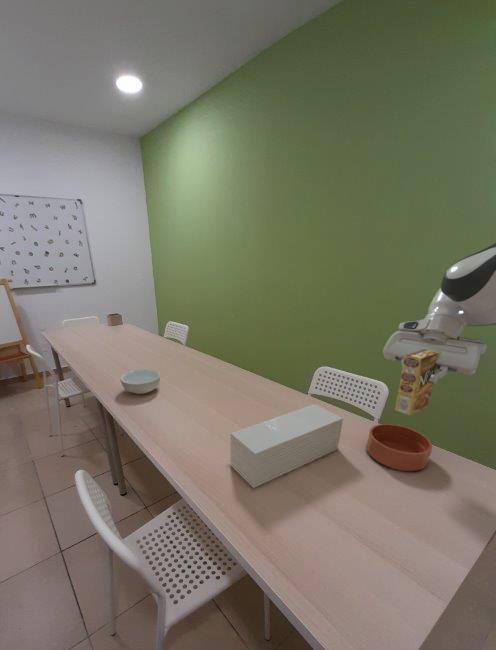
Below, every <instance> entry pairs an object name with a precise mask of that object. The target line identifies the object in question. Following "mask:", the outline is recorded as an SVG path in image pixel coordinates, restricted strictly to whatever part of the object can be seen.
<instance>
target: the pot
mask: <svg viewBox="0 0 496 650" xmlns="http://www.w3.org/2000/svg"><path fill="white" fill-rule="evenodd" d="M365 449H366V451H367V453H368V455H369V456H371V458H372V459H373V460H375V461H376V462H377V463H379V464H381V465H382V466H385V467H388V468H390V469H393V470H397V471H403V472H415V471H421V470H423V469H424V468H426V466H427V464H428V462H429V459H430V457H431V453H432V449H433V444H432V441H431V440H430V439H429V438H428V437H427V436H426V435H424V434H423V433H422V432H419V431H417V430H415V429H413V428H410V427H407V426H404V425H399V424H393V423H379V424H376V425H373V426H372V427H371V428H370V429H369V432H368V437H367V441H366V447H365Z"/></svg>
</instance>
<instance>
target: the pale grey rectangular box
mask: <svg viewBox="0 0 496 650" xmlns="http://www.w3.org/2000/svg"><path fill="white" fill-rule="evenodd" d="M343 421H344V418H343V417H342V416H339V415H337V414H335V413H333V412H331V411H330V410H327V409H325V408H324V407H321V406H319V405H317V404H315V403H313V404H310V405H308V406H305V407H302V408H299V409H296V410H293V411H290V412H288V413H284V414H282V415H279V416H276V417H272V418H270V419H268V420H265V421H261V422H259V423H256V424H252V425H250V426H247V427H244V428H242V429H239V430H236V431H233V432H230V449H229V450H230V453H229V454H230V457H229V458H230V460H229V461H230V462H229V463H230V466H231V468H232V469H234V470H235V471H236V472H237V474H239V476H241V477H242V479H244V480H245V481H246V483H248V484H249V485H250V486H251V487H252V489H255V488H257V487H260V486H261V485H264V484H266V483H267V482H270V481H272V480H274V479H277V478H278V477H280V476H282V475H285V474H287V473H289V472H292V471H294V470H296V469H298V468H300V467H302V466H304V465H306V464H309V463H311V462H313V461H315V460H317V459H319V458H322V457H324V456H326V455H328V454H330V453H332V452H334V451H337V450H339V445H340V439H341V434H342V433H341V432H342V429H343Z"/></svg>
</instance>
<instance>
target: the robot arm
mask: <svg viewBox="0 0 496 650" xmlns="http://www.w3.org/2000/svg"><path fill="white" fill-rule="evenodd" d="M495 325H496V242H494V243H493V244H491V245H489V246H488V247H486V248H484V249H482V250H479V251H477V252H475V253H472V254H470V255H468V256H465V257H464V258H462V259H459V260H458V261H456V262H455V263H453V264H452V265H450V266H449V267H448V269H446V271H445V272H444V275H443V277H442V279H441V283H440V288H439V289H438V290H437V291H436V293H435V295H434V296H433V298H432V299H431V302H430V304H429V306H428V308H427V315H426V316H425V317H424V318H423V319H419V320H412V321H403V322H401V323H400V324H399V325H398V328H397V329H398V330H397V331H394V332H393V333H392V334H391V335H390V337H389V338H388V340H386V341H387V342H386V343H385V345H384V347H383V348H382V354H383V357H384V359H386V360H390V361H395V362H400V365H401V372H400V376H401V374H402V369H403V363H404V358H405V355H407V354H411V353H414V352H417V351H420V350H432V351H438V352H441V353H440V355H439V356H438V358H437V360H436V362H435V364H437V371H438V370H439V371H438V372H436V375H432V374H431V376H430V378H429V383H432V384H433V385H437V382H438V380H439V379H441V378H443V377H444V376H446V375H447V373H448V372H450V373H454V374H459V375H464V376H472V375H474V374H476V372H477V369H478V366H479V363H480V358H481V357H482V356H484V355H485V354H486V352H487V350H488V345H487V343H486V342H483V341H482V339H478V338H474V339H473V338H468V337H463V336H461V333H462V331H463V328H464V327H465V326H468V327H483V326H487V327H488V326H495Z"/></svg>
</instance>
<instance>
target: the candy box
mask: <svg viewBox="0 0 496 650" xmlns="http://www.w3.org/2000/svg"><path fill="white" fill-rule="evenodd" d="M440 353H441V352H438V351H432V350H420V351H417V352H414V353H411V354H407V355H405V358H404V363H403V369H402V368H401V371H402V374H401V373H400V374H401V375H400V379H399V386H398V390H397V396H396V402H395V408H394V411H396V412H399V413H402V414H405V415H408V416H411V415H414V414H416V413H418V412H420V411H422V410H424V409H427V408H428V407H429V406H430V401H431V397H432V392H433V390H434V389H433V388H434V384H432V383H429V378H430V376H431V374H432V375H436V374H437V371H438V369H437V364H435V362H436V360H437V358H438V356H439V355H440Z"/></svg>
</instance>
